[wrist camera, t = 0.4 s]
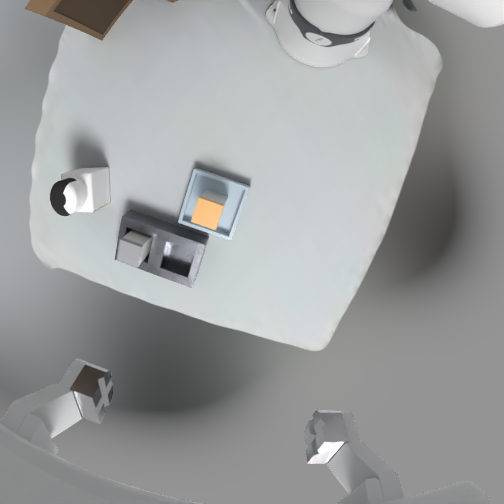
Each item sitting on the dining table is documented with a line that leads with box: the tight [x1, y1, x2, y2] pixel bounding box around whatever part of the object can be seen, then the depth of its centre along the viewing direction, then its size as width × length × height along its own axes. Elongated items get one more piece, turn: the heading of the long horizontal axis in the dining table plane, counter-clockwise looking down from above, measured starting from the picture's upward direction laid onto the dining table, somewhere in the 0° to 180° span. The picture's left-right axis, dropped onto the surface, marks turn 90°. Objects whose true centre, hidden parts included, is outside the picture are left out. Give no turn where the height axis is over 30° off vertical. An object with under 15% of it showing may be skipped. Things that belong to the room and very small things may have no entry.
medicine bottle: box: [50, 167, 110, 216], centre depth 46 cm, size 7×7×12 cm
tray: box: [178, 168, 250, 241], centre depth 51 cm, size 10×10×2 cm
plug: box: [191, 190, 228, 230], centre depth 49 cm, size 4×4×7 cm
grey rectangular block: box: [117, 229, 153, 268], centre depth 51 cm, size 4×4×7 cm
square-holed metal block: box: [115, 210, 209, 288], centre depth 54 cm, size 16×9×4 cm, turn 70°
